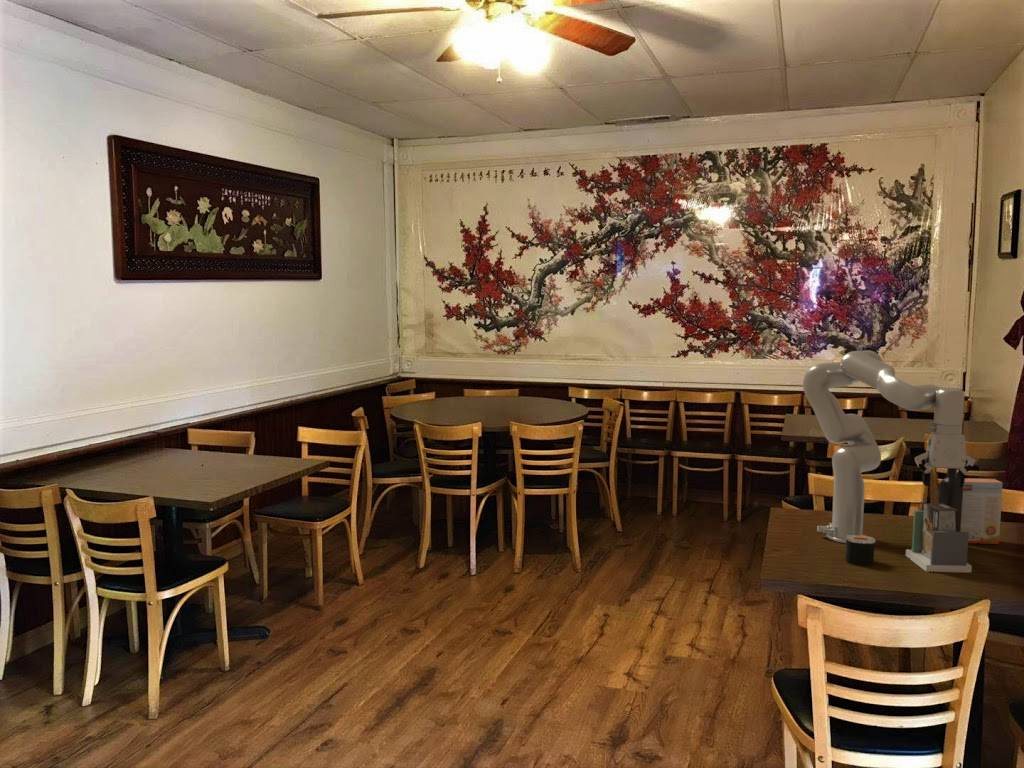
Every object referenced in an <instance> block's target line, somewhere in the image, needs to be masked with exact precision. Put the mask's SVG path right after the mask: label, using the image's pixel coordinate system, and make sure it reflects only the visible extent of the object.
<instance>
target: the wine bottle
mask: <svg viewBox="0 0 1024 768" xmlns="http://www.w3.org/2000/svg"><path fill="white" fill-rule="evenodd" d="M957 472H958V469H947V468H946V477H944V478H943V479H942V480H941V481H940V482H939V484H938V493H937V503H944V504H946V505H948V506H951V507H953V508H955V509H957V510H959V521H958V532H960V530H961V515H962V500H963V487H959V486H957V485H956V476H957Z"/></svg>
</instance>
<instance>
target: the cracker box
mask: <svg viewBox="0 0 1024 768" xmlns="http://www.w3.org/2000/svg"><path fill="white" fill-rule="evenodd" d="M1002 495H1003V482H1002V481H1000V480H997V479H996V478H969V477H968V478H966V477H965V482H964V484H963V500H962V515H961V530H960V532H968V533H969V537H968V544H977V543H979V545H980V544H982V545H984V544H985V545H999V544H1000V532H1001V518H1002V517H1001V516H1002V515H1001V514H1002V499H1003V496H1002Z"/></svg>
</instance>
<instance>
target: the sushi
mask: <svg viewBox="0 0 1024 768" xmlns="http://www.w3.org/2000/svg"><path fill="white" fill-rule="evenodd" d="M865 535H866V534H864V536H863V535H861V536H859V535H853V536H852V535H851V536H850V535H847V536H846V543H845V546H846V547H845V549H846V550H845V562H846V563H847V564H850V565H854V566H862V567H870V566H873V565H874V557H875V543H876V538H874V537H873V536H869V535H868V536H867V535H866V536H865Z"/></svg>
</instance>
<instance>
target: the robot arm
mask: <svg viewBox="0 0 1024 768" xmlns="http://www.w3.org/2000/svg"><path fill="white" fill-rule="evenodd" d="M858 382H861V383H863V384H865V385H867V386H870V387H871V388H873V389H875V390H877V391H878V392H879V394H880V395H881V396H882V397H883V398H884V399H886V400H887V401H888V402H890V403H892V404H894V405H895V406H898V407H900V408H903V409H904V410H907V411H911V412H912V411H913V412H914V411H915V412H917V411H923V410H924V411H925V410H934V411H933V412H934V413H933V423H932V424H931V425H928V430H929V431H931V432H930V434H929V437H928V440H927V441H928V442H927V445H926V452H924V453H921V454H919V455H917V456H915V457H914V461H915V464H916V466H917V468H919V469H920V471H922V475H921V483H922V485H924V486H926V487H930V486H931V473H930V472H931V471H932V470H933V469H934V468H935V469H946V470H947V469H957V475H956V485H957V486H959V487H963V484H964V482H965V478H966V475H967V474H968V472H969V471H970V470H971V469H972V468H973V466H974V465H975V463H976V459H975V458H972V457H971V456H969V455H968V454H966V453H967V452H966V451H967V450H966V449H967V448H966V447H967V446H966V438H965V435H964V434H962V430H963V417H964V405H965V392H964V390H962V389H960V388H955V387H943V386H939V385H936V384H919V385H912V384H909V383H907V382H904V381H903V380H900V379H898V378H897V377H896V370H895V368H894V367H893V366H892V365H890V364H887V363H885V362H883V360H882V358H881V356H880V355H879V354H878V353H877V352H875V351H872V350H853V351H849V352H847V353H845V354H844V355H843V356H842V358H841V359H840V361H839V362H824V363H823V362H822V363H817V364H815V365H813V366H811V367H809V369H807V371H806V372H805V375H804V377H803V382H802V389H803V392H804V395H805V397H806V400H807V401H808V403H809V405H810V406H811V408H812V410H813V413H814V414H815V417H816V418H817V422H818V423H819V426H820V428H821V430H822V432H823V434H824V437H825V439H826V440H827V441H828V442H830V443H832V444H845V443H847V445H843V446H840V447H839V448H837V449H836V450H835V451H834V452H833V454H832V457H831V458H832V459H831V464H832V465H831V466H832V471H833V472H832V473H833V498H832V499H833V500H832V501H833V503H832V519H831V521H832V522H829V523H828V524H827V525H817V526H816V531H817V532H822V533H824V534H826V537H827V538H828V539H829V540H831V541H834V542H837V543H843V544H846V536H847V535H850V536H851V535H852V536H853V535H859V536H861V535H863V536H864V535H865V536H867V535H866V534H864V533H863V529H864V527H863V526H864V512H865V511H864V509H865V492H866V491H865V486H866V485H865V481H864V478H863V475H862V473H865V472H870V471H873V470H876V469H877V468H878V467H879V466H880V464H881V462H882V454H881V451H880V447H879V446H878V443H877V442H876V439H875V437H874V435H873V433H872V431H871V428H870V427H869V425H868V423H867V422H866V420H865V419H864V418H863V417H862V416H861V415H858V414H856V413H845V411H844V410H843V408H842V406H841V404H840V402H839V400H838V398H836V396H835V395H834V394H833V393H832V392H831V391H830V389H833V388H843V387H847V386H848V387H849V386H850V385H853V384H855V383H858ZM923 460H924V461H925V464H923V463H922V461H923ZM966 462H967V463H966Z"/></svg>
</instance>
